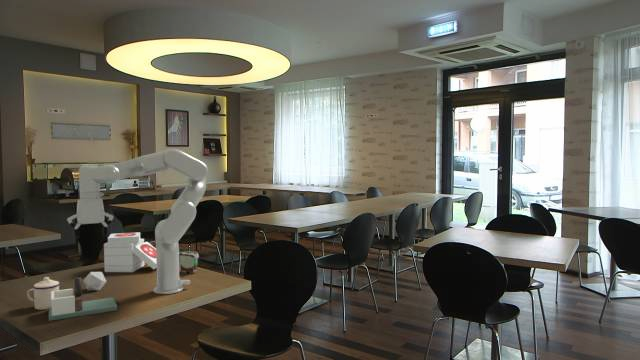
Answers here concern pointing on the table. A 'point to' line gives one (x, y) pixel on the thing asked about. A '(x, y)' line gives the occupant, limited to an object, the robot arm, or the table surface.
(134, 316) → the table surface
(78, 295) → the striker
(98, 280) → the die
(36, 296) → the teacup with lid
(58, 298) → the game board
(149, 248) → the pizza boxes
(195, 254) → the food container
